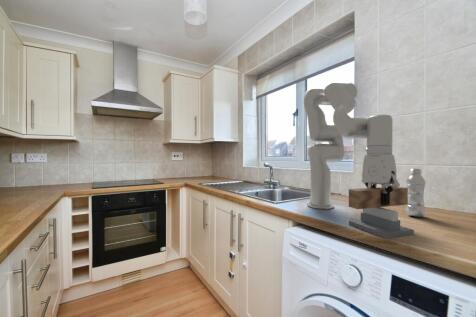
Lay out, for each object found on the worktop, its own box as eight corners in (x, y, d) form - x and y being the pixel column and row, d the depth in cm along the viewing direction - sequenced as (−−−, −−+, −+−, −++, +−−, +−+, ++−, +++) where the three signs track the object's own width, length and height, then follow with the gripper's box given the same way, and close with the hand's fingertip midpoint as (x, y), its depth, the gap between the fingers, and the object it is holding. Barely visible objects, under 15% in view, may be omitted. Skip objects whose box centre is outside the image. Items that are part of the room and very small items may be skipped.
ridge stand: (348, 224, 84) (348, 204, 84) (373, 221, 88) (373, 202, 88) (385, 238, 70) (385, 214, 70) (413, 234, 73) (413, 211, 73)
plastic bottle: (425, 216, 95) (426, 168, 95) (425, 219, 90) (425, 169, 90) (406, 213, 99) (407, 168, 99) (405, 216, 94) (405, 169, 94)
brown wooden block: (358, 209, 74) (358, 191, 73) (348, 206, 77) (348, 189, 77) (407, 204, 80) (407, 187, 80) (396, 202, 84) (396, 186, 84)
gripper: (352, 151, 85) (351, 199, 86) (394, 150, 69) (393, 209, 70) (367, 151, 87) (367, 198, 88) (411, 150, 71) (411, 207, 72)
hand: (379, 202), depth 79 cm, fingers closed on brown wooden block, 4 cm apart
